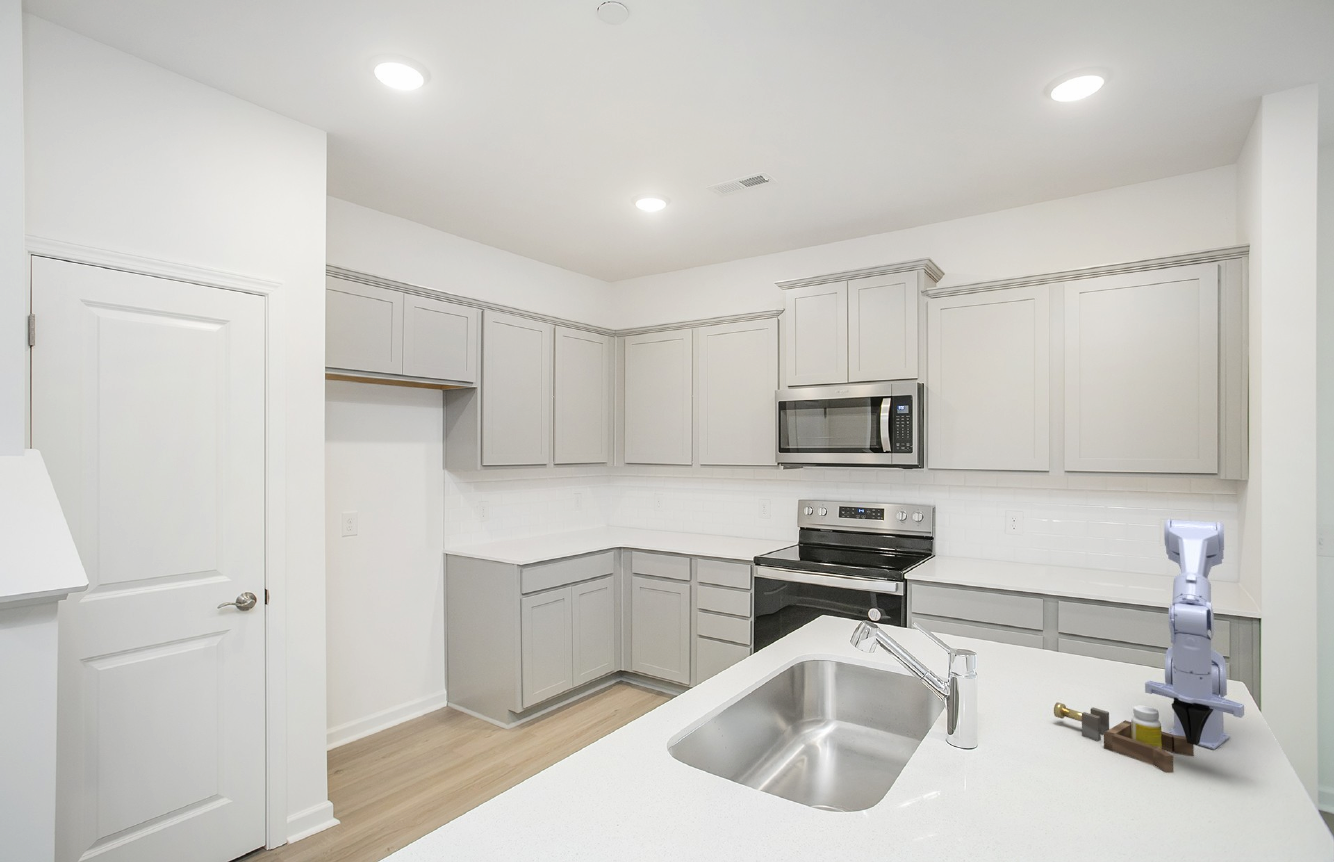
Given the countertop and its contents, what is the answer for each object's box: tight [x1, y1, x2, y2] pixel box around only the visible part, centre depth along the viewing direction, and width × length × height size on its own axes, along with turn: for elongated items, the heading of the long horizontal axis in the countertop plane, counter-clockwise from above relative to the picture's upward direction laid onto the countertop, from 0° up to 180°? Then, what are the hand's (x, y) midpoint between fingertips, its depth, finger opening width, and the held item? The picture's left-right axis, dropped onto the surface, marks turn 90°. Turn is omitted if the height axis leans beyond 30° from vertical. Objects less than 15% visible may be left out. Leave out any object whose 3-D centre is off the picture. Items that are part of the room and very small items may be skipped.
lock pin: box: [1053, 702, 1083, 723], centre depth 140 cm, size 3×7×3 cm, turn 35°
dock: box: [1081, 707, 1195, 773], centre depth 131 cm, size 13×16×5 cm
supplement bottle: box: [1130, 704, 1162, 749], centre depth 129 cm, size 5×5×8 cm
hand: (1193, 742), depth 123 cm, fingers closed
